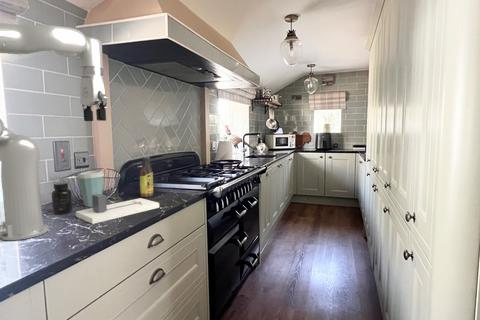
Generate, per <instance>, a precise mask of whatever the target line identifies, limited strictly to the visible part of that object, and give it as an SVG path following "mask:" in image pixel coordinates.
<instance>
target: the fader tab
mask: <svg viewBox="0 0 480 320" xmlns="http://www.w3.org/2000/svg"><path fill="white" fill-rule="evenodd" d="M92 202H93V206H92V208H93V210H94V211H96V212H104V211H107V205H108V204H107V195H106V194H103V193H102V194H95V195H92Z"/></svg>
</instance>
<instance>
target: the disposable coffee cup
mask: <svg viewBox="0 0 480 320" xmlns="http://www.w3.org/2000/svg"><path fill="white" fill-rule="evenodd" d="M104 177H105V173H104V172H103V170H97V169H96V170H89V171H84V172H80V173H78V175H77V177H76V178H77V181H78V183H79V184H78V185H79V189H80V193H81V197H82V201H83V205H84V206H85V207H88V208H89V207H91V208H92V207H93V202H92V195H95V194H103V190H104V189H103V187H104Z"/></svg>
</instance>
